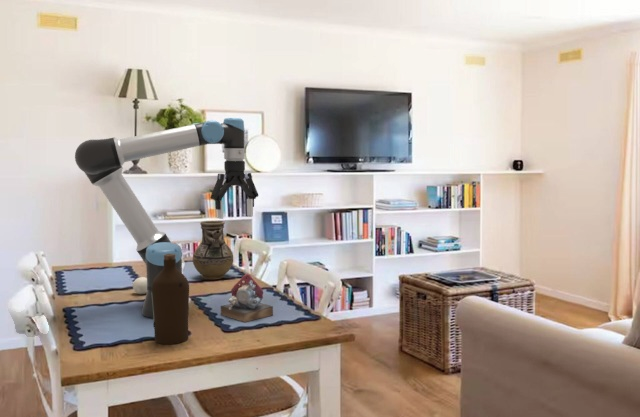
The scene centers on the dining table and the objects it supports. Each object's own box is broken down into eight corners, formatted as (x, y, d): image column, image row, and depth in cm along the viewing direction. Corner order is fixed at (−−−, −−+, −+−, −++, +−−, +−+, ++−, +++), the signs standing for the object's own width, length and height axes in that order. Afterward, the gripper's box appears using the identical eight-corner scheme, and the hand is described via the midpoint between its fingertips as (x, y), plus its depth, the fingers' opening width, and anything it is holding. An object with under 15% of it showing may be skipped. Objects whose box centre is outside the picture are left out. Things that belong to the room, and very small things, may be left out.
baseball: (141, 291, 232) (141, 274, 231) (155, 293, 228) (154, 276, 228) (128, 294, 226) (128, 277, 225) (142, 296, 222) (141, 279, 222)
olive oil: (195, 335, 173) (194, 252, 171) (181, 346, 163) (179, 258, 161) (162, 333, 175) (160, 251, 173) (146, 344, 165) (143, 257, 163)
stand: (244, 322, 187) (244, 313, 187) (220, 314, 196) (220, 305, 196) (272, 315, 195) (272, 306, 195) (249, 308, 204) (249, 299, 204)
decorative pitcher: (190, 274, 265) (189, 220, 263) (228, 271, 271) (227, 218, 269) (196, 284, 245) (195, 225, 243) (238, 281, 251) (237, 223, 249)
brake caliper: (269, 295, 200) (262, 272, 192) (261, 321, 192) (253, 297, 184) (238, 293, 203) (230, 270, 195) (229, 319, 195) (220, 296, 187)
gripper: (212, 160, 204) (213, 220, 206) (267, 160, 221) (267, 215, 223) (200, 160, 209) (201, 218, 211) (254, 160, 227) (255, 214, 229)
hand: (235, 217), depth 217 cm, fingers open, 13 cm apart
